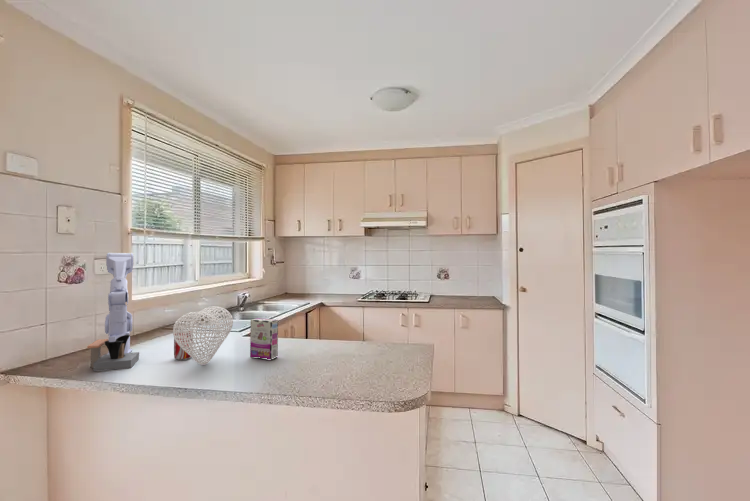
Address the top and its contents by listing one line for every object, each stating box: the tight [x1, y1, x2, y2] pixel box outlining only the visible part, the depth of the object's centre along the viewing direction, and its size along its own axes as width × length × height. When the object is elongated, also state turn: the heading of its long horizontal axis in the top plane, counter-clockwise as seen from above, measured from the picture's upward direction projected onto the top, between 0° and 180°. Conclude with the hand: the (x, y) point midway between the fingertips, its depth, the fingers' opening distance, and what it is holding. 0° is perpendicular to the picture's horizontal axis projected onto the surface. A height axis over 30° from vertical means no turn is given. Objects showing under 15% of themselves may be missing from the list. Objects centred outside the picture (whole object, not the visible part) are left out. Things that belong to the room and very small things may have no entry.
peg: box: [118, 343, 124, 359], centre depth 146 cm, size 3×3×8 cm
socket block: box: [86, 338, 140, 372], centre depth 145 cm, size 12×14×9 cm
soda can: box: [173, 328, 194, 361], centre depth 156 cm, size 7×7×12 cm
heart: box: [172, 305, 234, 366], centre depth 147 cm, size 28×16×22 cm, turn 177°
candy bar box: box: [249, 317, 279, 359], centre depth 158 cm, size 11×5×16 cm, turn 68°
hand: (117, 356), depth 146 cm, fingers open, 7 cm apart
